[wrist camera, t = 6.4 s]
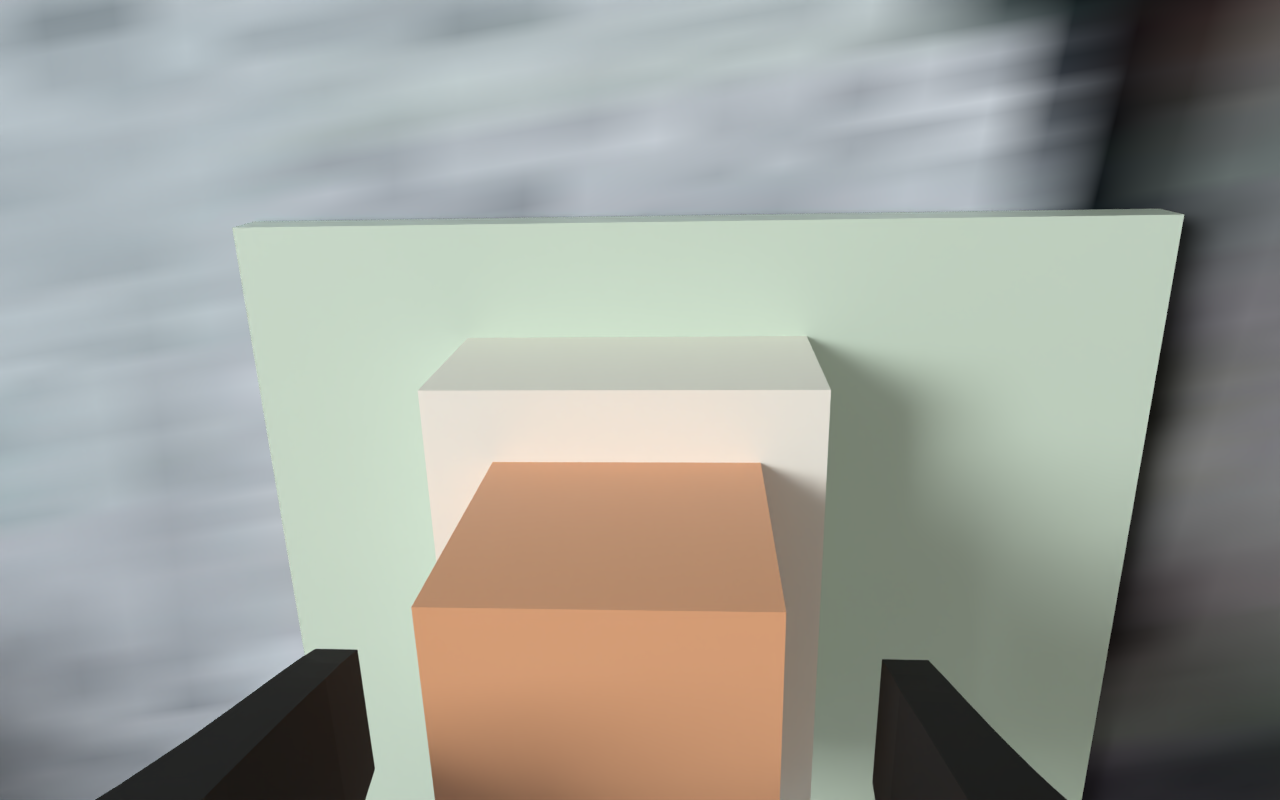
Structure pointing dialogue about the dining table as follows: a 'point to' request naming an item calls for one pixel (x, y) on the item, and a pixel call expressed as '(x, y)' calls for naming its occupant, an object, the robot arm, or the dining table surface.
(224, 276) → the dining table surface
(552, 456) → the base brick
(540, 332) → the baseplate
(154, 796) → the robot arm
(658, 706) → the top brick
